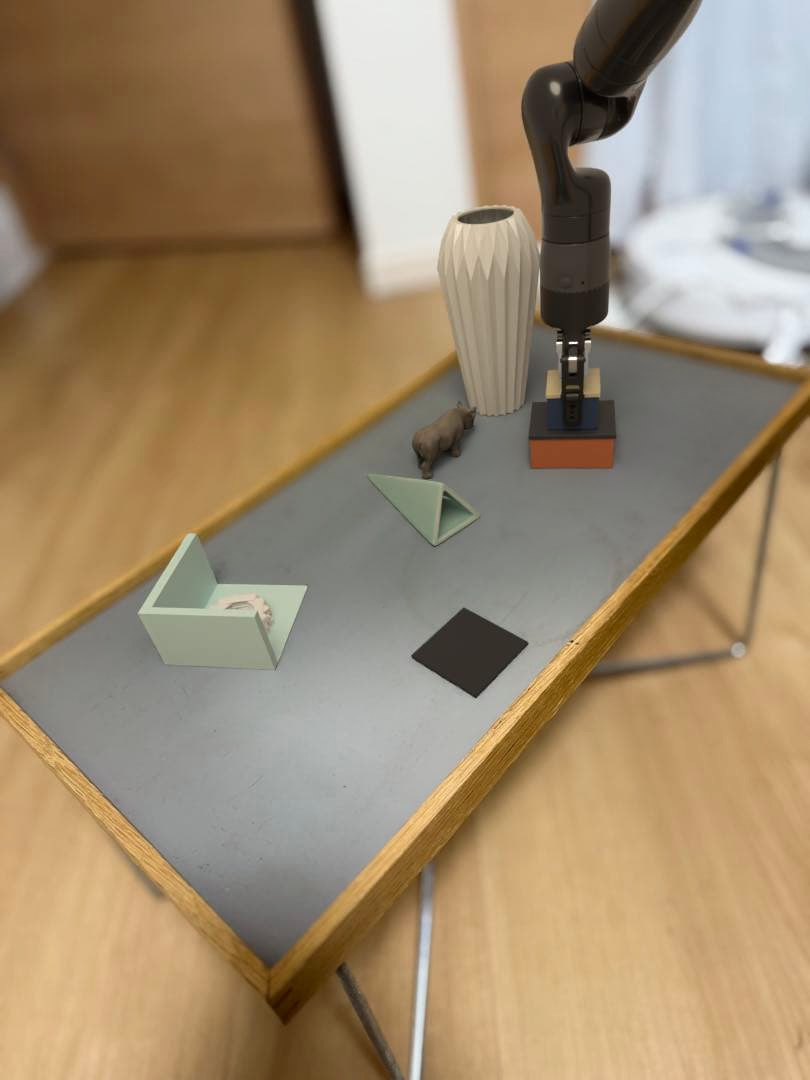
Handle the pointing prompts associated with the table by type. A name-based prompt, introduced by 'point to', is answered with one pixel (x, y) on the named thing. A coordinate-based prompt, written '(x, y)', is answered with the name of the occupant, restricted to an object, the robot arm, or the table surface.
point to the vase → (491, 302)
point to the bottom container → (572, 441)
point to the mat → (469, 651)
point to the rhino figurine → (442, 436)
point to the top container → (588, 404)
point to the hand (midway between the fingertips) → (572, 409)
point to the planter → (427, 505)
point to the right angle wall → (217, 615)
